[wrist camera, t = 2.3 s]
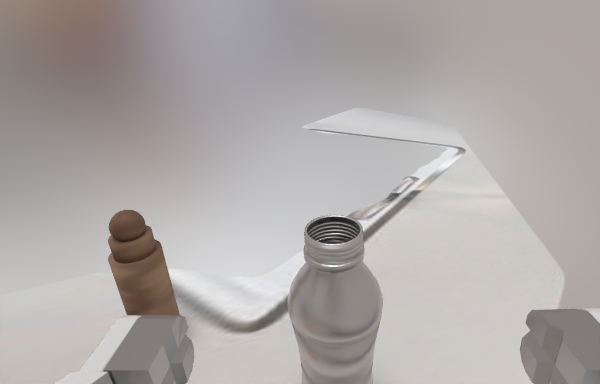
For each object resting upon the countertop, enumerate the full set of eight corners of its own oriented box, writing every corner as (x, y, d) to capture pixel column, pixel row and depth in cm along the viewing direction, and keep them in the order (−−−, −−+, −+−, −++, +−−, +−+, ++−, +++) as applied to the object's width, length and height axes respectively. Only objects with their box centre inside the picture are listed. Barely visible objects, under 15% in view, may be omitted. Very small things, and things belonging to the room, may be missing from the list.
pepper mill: (130, 356, 38) (82, 225, 31) (150, 322, 42) (113, 201, 36) (174, 357, 37) (135, 223, 31) (190, 322, 42) (159, 199, 35)
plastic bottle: (384, 410, 31) (396, 211, 23) (366, 495, 25) (373, 271, 17) (317, 386, 33) (306, 199, 25) (287, 458, 28) (260, 248, 20)
